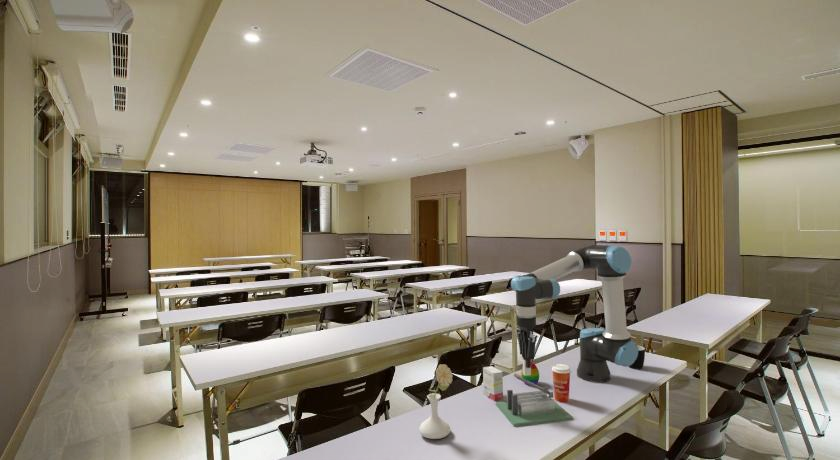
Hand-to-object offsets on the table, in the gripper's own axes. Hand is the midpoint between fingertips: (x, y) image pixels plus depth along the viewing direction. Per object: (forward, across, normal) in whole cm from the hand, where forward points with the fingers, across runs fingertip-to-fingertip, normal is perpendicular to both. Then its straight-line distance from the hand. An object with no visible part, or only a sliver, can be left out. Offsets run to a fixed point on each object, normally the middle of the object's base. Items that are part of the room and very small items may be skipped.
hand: (527, 374), depth 158 cm
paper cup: (+15, -7, +19) cm, 25 cm away
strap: (+5, 0, +2) cm, 5 cm away
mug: (+15, -33, +74) cm, 83 cm away
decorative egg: (+15, -26, +14) cm, 33 cm away
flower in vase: (+15, +7, -39) cm, 42 cm away
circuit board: (+15, 0, +2) cm, 15 cm away
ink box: (+15, -17, -8) cm, 24 cm away
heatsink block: (+14, 0, +3) cm, 14 cm away
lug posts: (+15, 0, -6) cm, 16 cm away
